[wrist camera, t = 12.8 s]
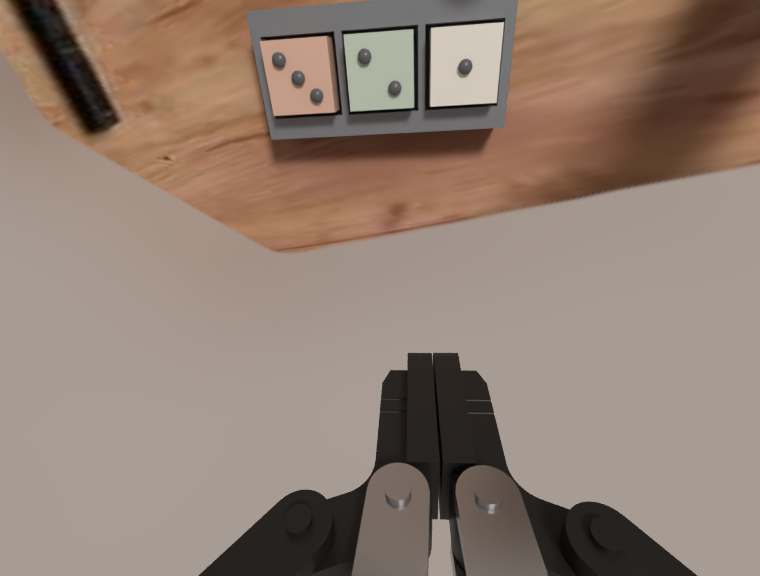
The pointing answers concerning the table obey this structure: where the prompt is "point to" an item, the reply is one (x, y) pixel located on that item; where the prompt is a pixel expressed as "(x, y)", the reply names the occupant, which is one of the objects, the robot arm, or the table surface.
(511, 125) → the table surface
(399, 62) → the tile two
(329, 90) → the tile three
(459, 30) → the tile one
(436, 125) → the well board
